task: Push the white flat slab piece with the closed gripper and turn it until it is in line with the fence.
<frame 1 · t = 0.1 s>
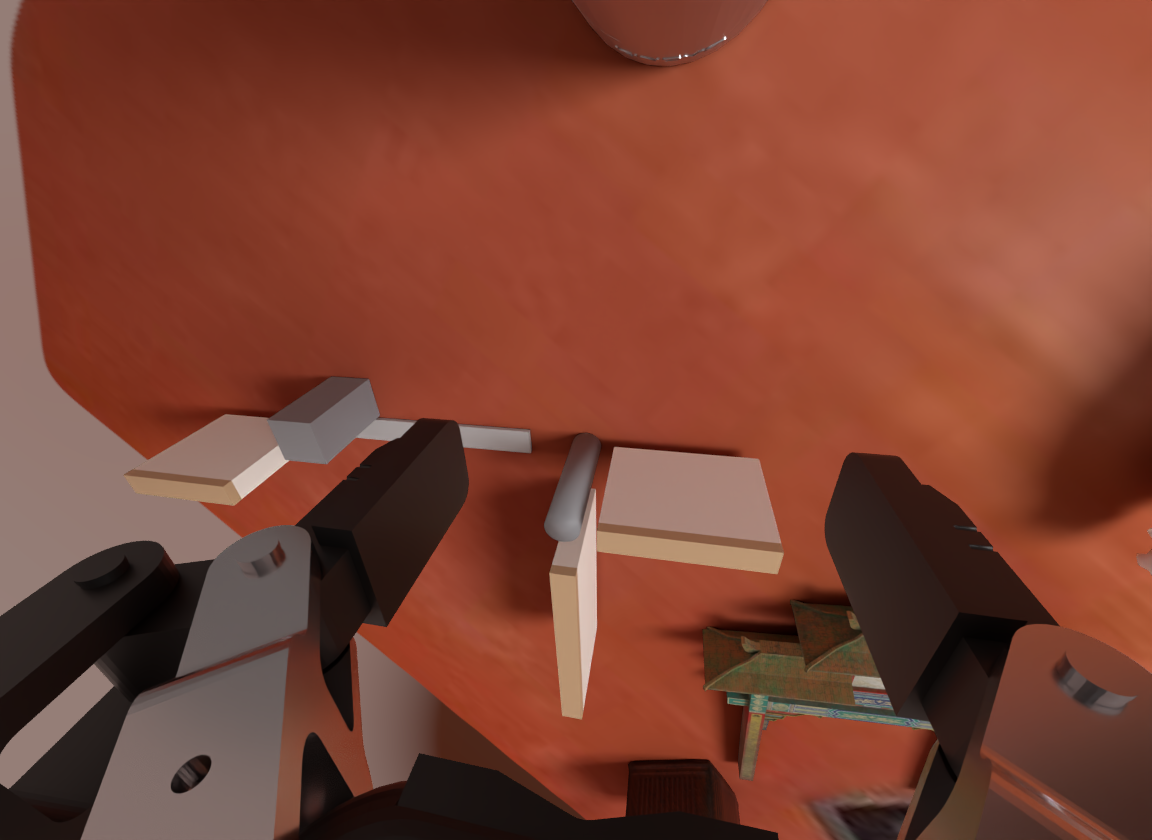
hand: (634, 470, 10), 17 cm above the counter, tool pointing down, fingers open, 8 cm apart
miniature gate: (854, 689, 40), on the counter
fence: (586, 445, 31), on the counter
pepper mill: (689, 788, 55), on the counter
white flat slab piece: (578, 606, 32), point 5 cm above the counter, hinge at 0.0°
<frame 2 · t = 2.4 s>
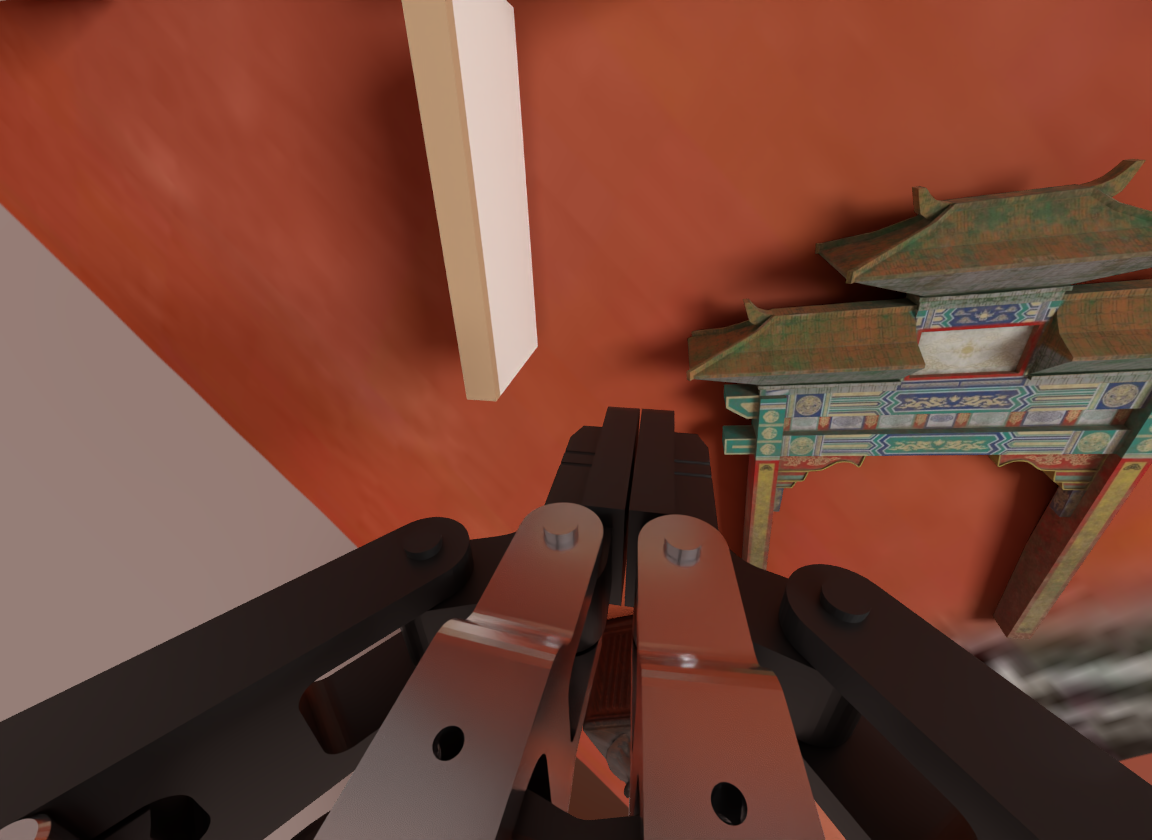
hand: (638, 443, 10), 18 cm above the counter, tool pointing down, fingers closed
miniature gate: (905, 440, 28), on the counter
pepper mill: (676, 662, 43), on the counter
white flat slab piece: (489, 211, 21), point 5 cm above the counter, hinge at 0.0°
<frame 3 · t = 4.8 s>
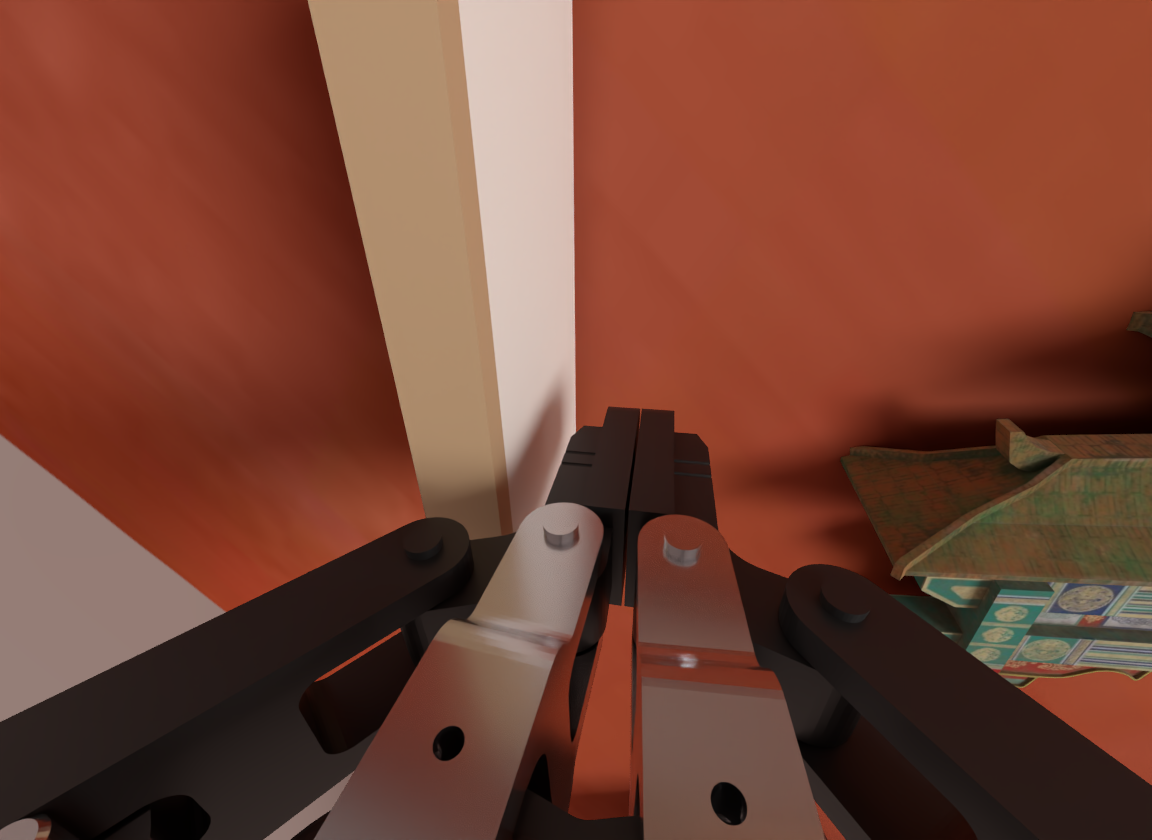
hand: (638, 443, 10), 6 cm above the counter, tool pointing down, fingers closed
white flat slab piece: (507, 259, 10), point 5 cm above the counter, hinge at 0.7°, touching gripper
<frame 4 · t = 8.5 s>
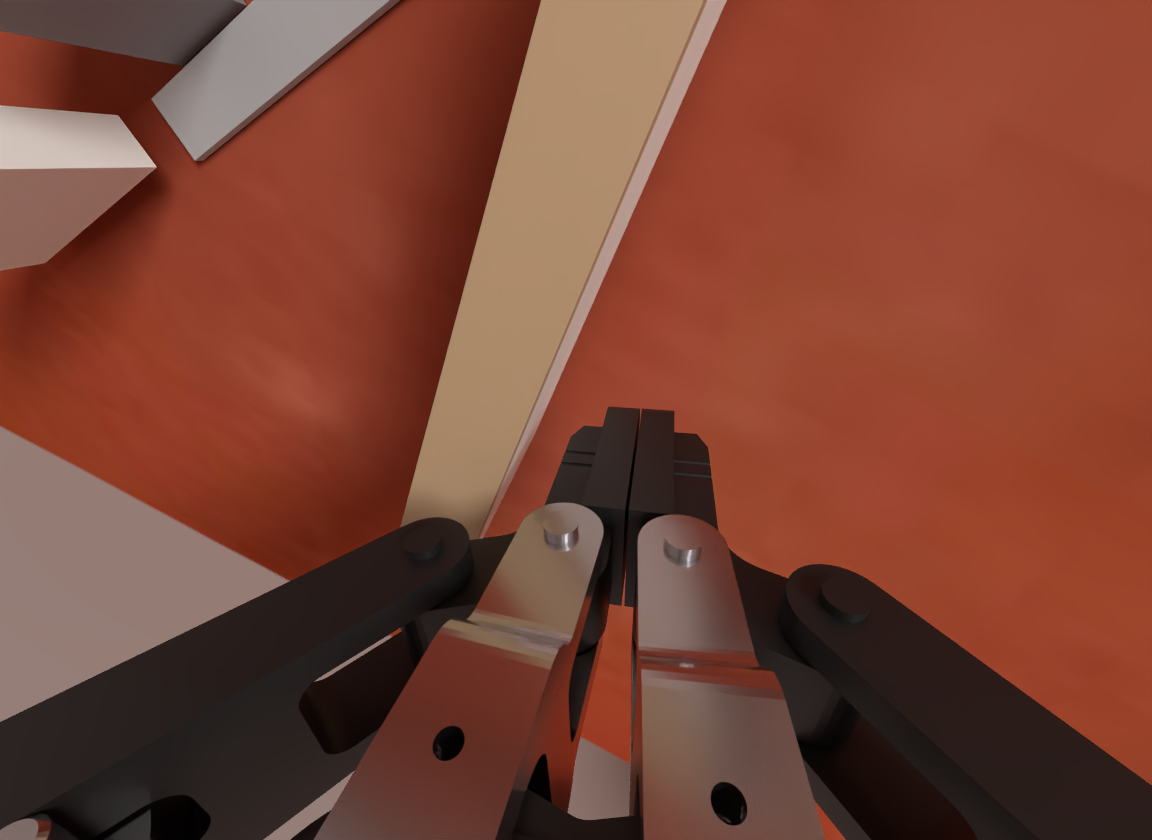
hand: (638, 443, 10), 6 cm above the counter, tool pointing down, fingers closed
white flat slab piece: (584, 216, 9), point 5 cm above the counter, hinge at 47.4°, touching gripper
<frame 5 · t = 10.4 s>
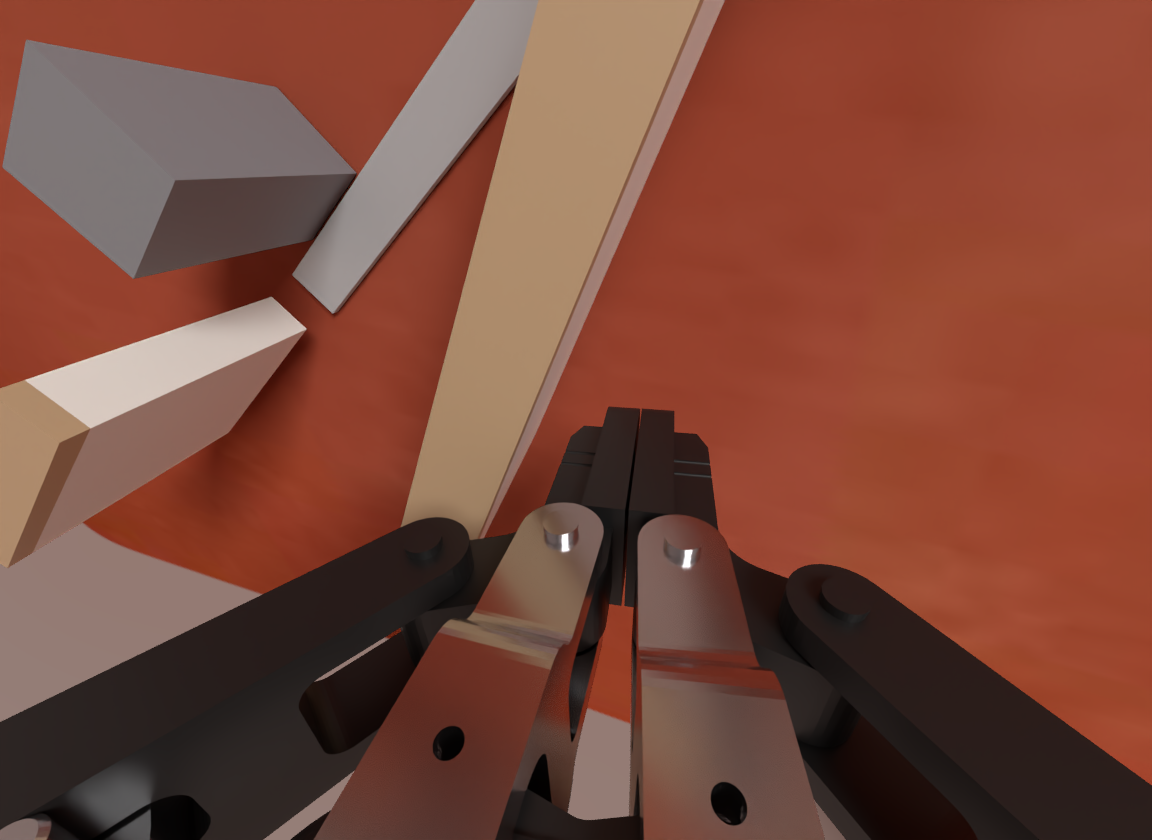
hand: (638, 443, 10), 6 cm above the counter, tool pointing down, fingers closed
white flat slab piece: (584, 215, 9), point 5 cm above the counter, hinge at 64.4°, touching gripper
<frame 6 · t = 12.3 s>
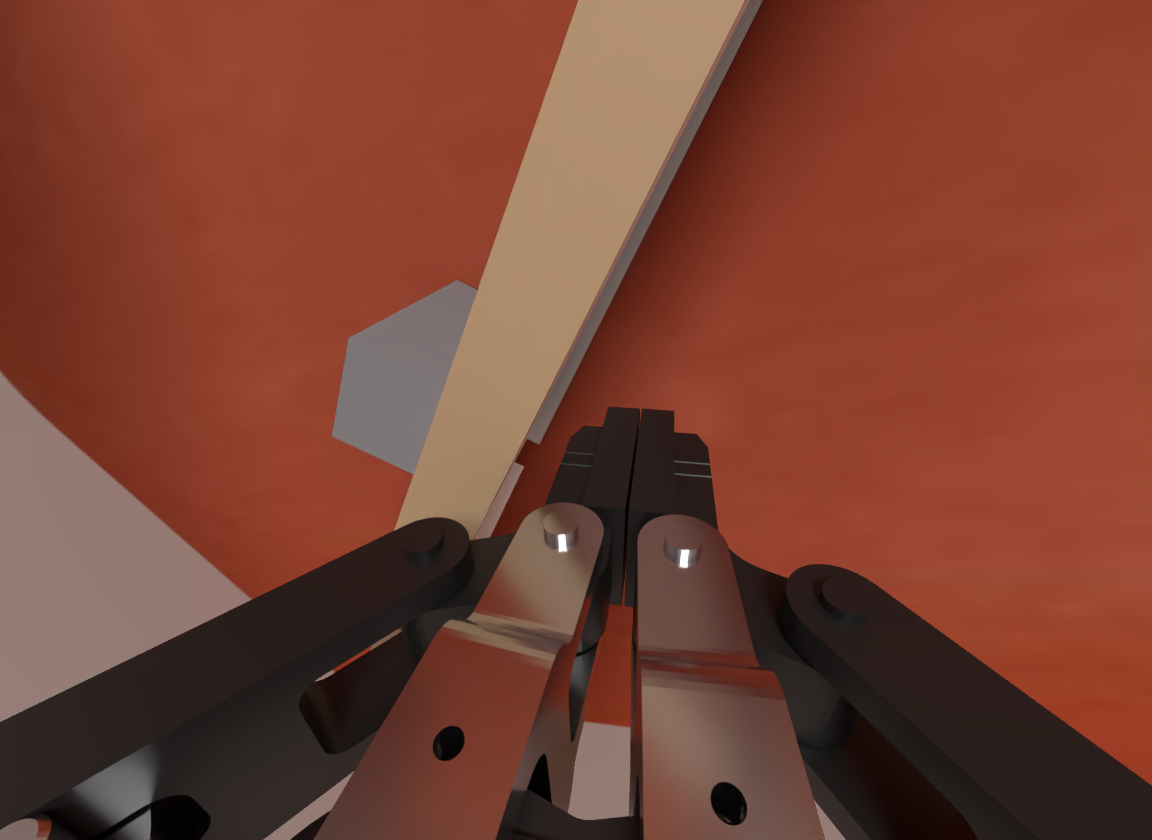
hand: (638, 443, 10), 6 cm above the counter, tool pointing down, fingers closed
white flat slab piece: (597, 216, 9), point 5 cm above the counter, hinge at 91.1°, touching fence, gripper
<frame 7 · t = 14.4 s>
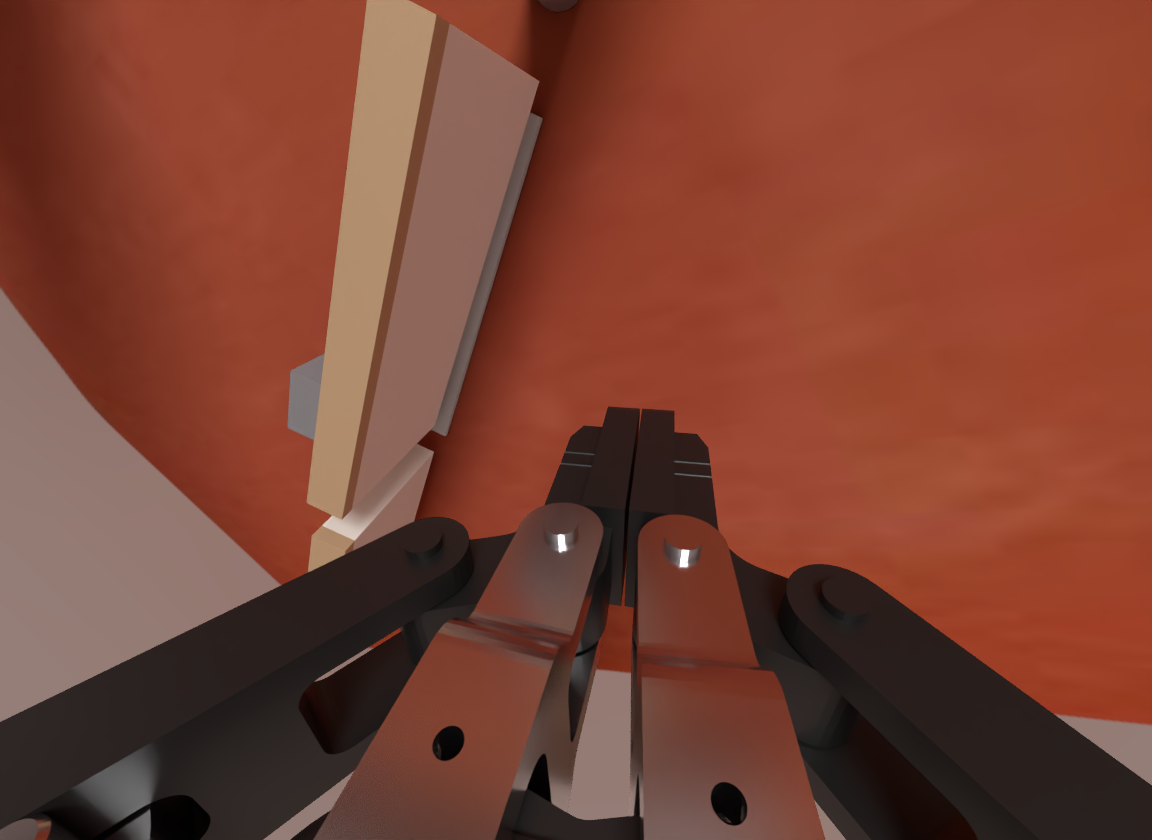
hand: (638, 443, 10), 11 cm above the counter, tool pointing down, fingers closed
white flat slab piece: (416, 303, 16), point 5 cm above the counter, hinge at 91.1°, touching fence
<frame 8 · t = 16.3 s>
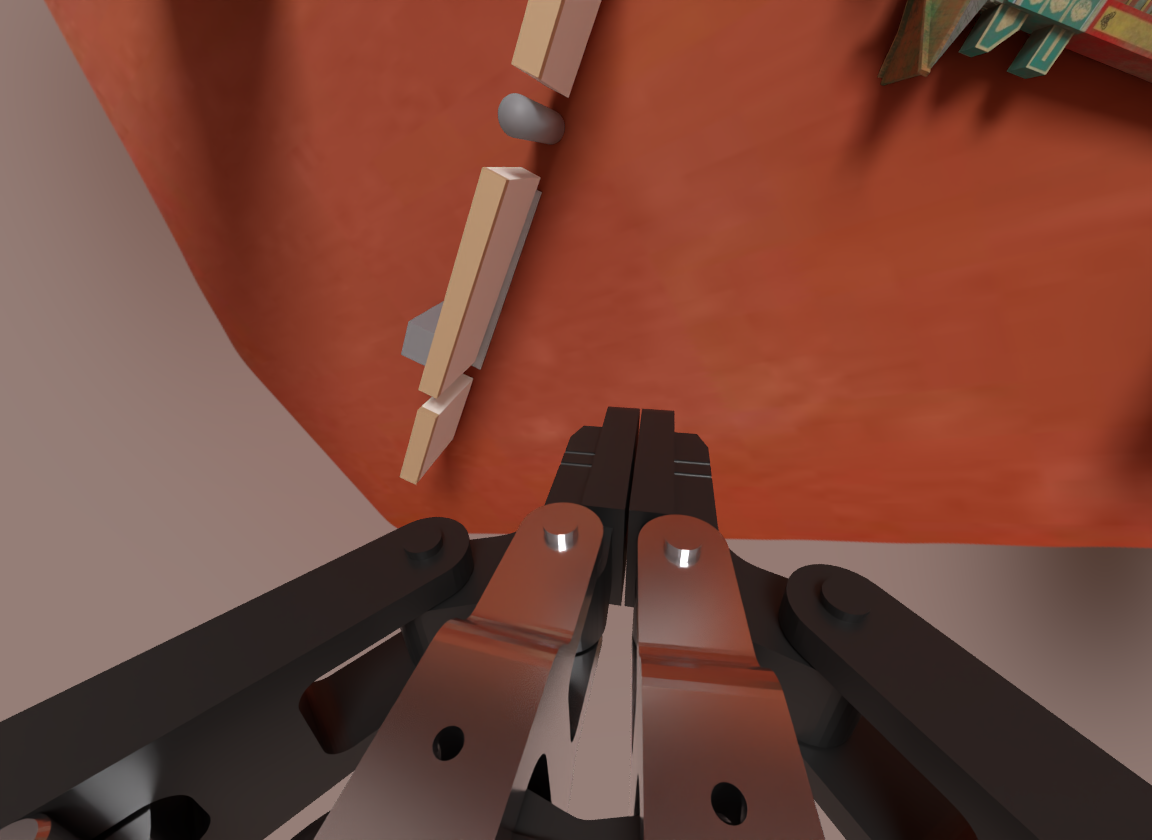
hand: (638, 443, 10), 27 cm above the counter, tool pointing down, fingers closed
fence: (550, 127, 31), on the counter
white flat slab piece: (477, 286, 32), point 5 cm above the counter, hinge at 91.1°, touching fence
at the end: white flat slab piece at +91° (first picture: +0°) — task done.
